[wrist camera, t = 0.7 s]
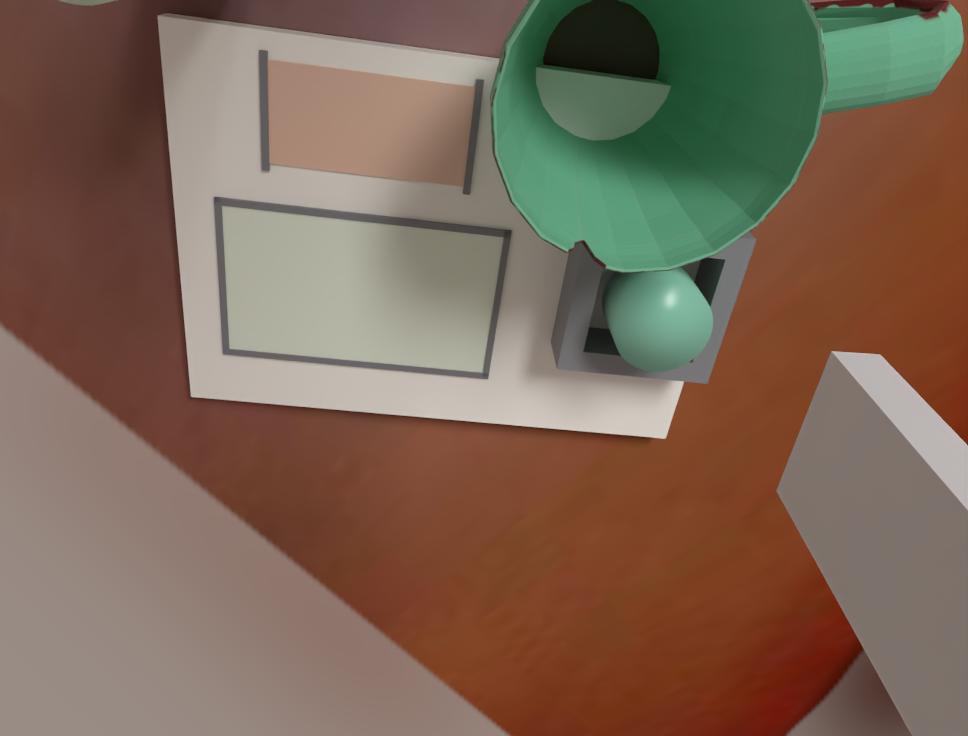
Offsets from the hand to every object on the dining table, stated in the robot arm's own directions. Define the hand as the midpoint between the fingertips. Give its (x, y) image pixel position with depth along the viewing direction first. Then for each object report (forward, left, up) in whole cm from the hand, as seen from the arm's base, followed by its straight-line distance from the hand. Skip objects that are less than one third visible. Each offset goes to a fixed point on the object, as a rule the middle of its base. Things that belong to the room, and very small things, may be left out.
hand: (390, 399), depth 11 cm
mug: (-3, +9, -23) cm, 25 cm away
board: (+7, +2, -22) cm, 23 cm away
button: (+7, +10, -19) cm, 23 cm away
